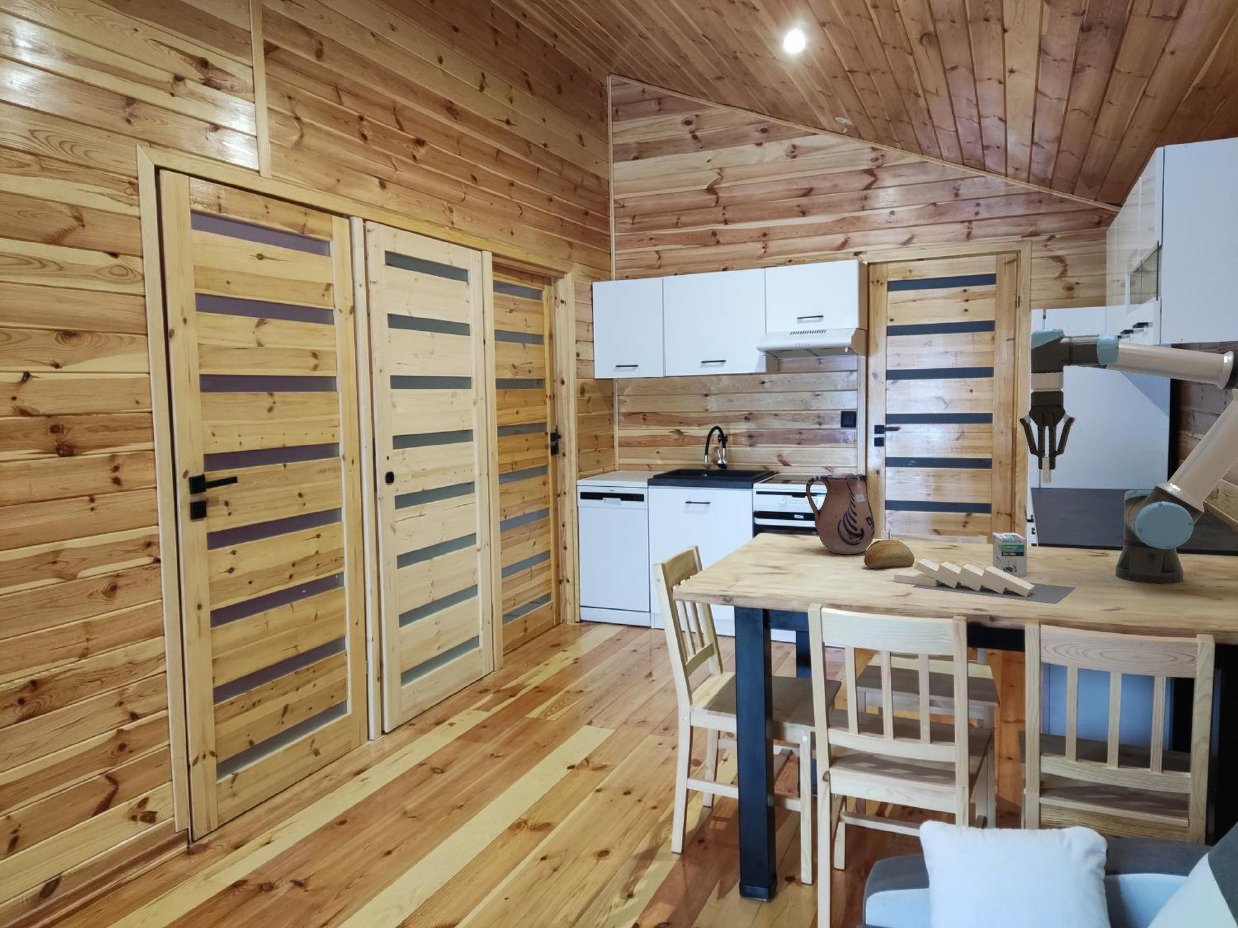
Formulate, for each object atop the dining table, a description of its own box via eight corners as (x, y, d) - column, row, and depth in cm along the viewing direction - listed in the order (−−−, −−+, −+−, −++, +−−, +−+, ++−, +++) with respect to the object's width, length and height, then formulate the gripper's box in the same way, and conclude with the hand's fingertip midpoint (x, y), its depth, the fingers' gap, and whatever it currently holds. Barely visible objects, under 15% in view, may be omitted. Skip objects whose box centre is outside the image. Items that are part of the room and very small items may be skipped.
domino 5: (1035, 585, 208) (991, 565, 215) (1029, 589, 204) (984, 569, 211) (1031, 592, 209) (988, 572, 215) (1026, 596, 205) (981, 576, 211)
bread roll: (857, 565, 251) (856, 539, 251) (904, 562, 254) (904, 536, 253) (871, 572, 242) (871, 544, 241) (920, 568, 244) (920, 541, 244)
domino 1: (942, 575, 223) (901, 571, 230) (935, 578, 219) (894, 574, 226) (942, 582, 223) (901, 578, 230) (935, 586, 219) (894, 581, 226)
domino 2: (964, 577, 219) (924, 558, 226) (957, 581, 215) (917, 561, 222) (961, 584, 220) (921, 565, 226) (954, 588, 216) (914, 568, 222)
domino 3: (987, 580, 215) (946, 561, 222) (981, 584, 212) (939, 564, 218) (984, 587, 216) (943, 567, 222) (978, 591, 212) (936, 571, 219)
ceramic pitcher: (882, 556, 264) (881, 476, 262) (813, 558, 264) (812, 478, 263) (866, 546, 282) (865, 471, 280) (802, 548, 282) (801, 473, 280)
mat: (1076, 589, 213) (1076, 587, 213) (1056, 605, 198) (1056, 603, 198) (939, 574, 235) (939, 573, 235) (912, 588, 220) (912, 586, 220)
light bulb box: (1027, 578, 228) (1027, 538, 227) (1000, 577, 229) (1000, 538, 228) (1017, 570, 238) (1017, 531, 237) (991, 569, 239) (991, 532, 239)
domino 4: (1011, 583, 212) (968, 563, 218) (1004, 586, 208) (962, 566, 214) (1007, 590, 212) (965, 570, 219) (1001, 594, 209) (959, 573, 215)
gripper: (1078, 389, 216) (1078, 481, 217) (1023, 391, 224) (1023, 480, 226) (1071, 389, 210) (1071, 484, 212) (1015, 391, 218) (1015, 482, 220)
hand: (1046, 482), depth 219 cm, fingers closed
